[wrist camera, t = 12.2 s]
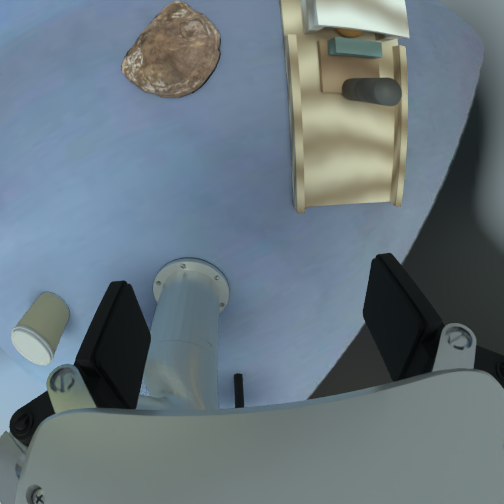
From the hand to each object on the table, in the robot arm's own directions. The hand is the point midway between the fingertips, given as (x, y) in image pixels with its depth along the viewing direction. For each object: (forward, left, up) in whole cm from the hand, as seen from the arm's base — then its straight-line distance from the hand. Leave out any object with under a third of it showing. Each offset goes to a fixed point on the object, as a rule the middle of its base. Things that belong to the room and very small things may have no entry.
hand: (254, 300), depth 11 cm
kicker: (+10, -15, -29) cm, 34 cm away
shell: (+14, +7, -31) cm, 35 cm away
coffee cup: (-24, +40, -31) cm, 56 cm away
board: (+6, -15, -30) cm, 34 cm away
